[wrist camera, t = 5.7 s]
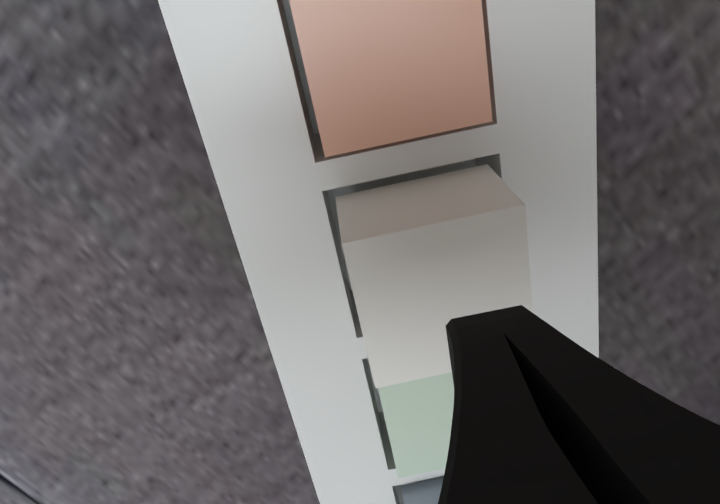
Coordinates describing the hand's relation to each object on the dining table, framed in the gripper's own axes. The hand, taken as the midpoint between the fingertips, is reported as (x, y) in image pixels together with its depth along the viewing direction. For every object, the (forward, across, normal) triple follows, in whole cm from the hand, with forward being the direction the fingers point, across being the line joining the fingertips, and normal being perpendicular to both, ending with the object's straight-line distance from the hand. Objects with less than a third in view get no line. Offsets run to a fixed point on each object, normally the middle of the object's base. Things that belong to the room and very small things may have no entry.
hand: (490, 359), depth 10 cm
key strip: (+10, 0, +4) cm, 11 cm away
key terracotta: (+9, 0, -4) cm, 10 cm away
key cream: (+7, 0, +1) cm, 7 cm away
